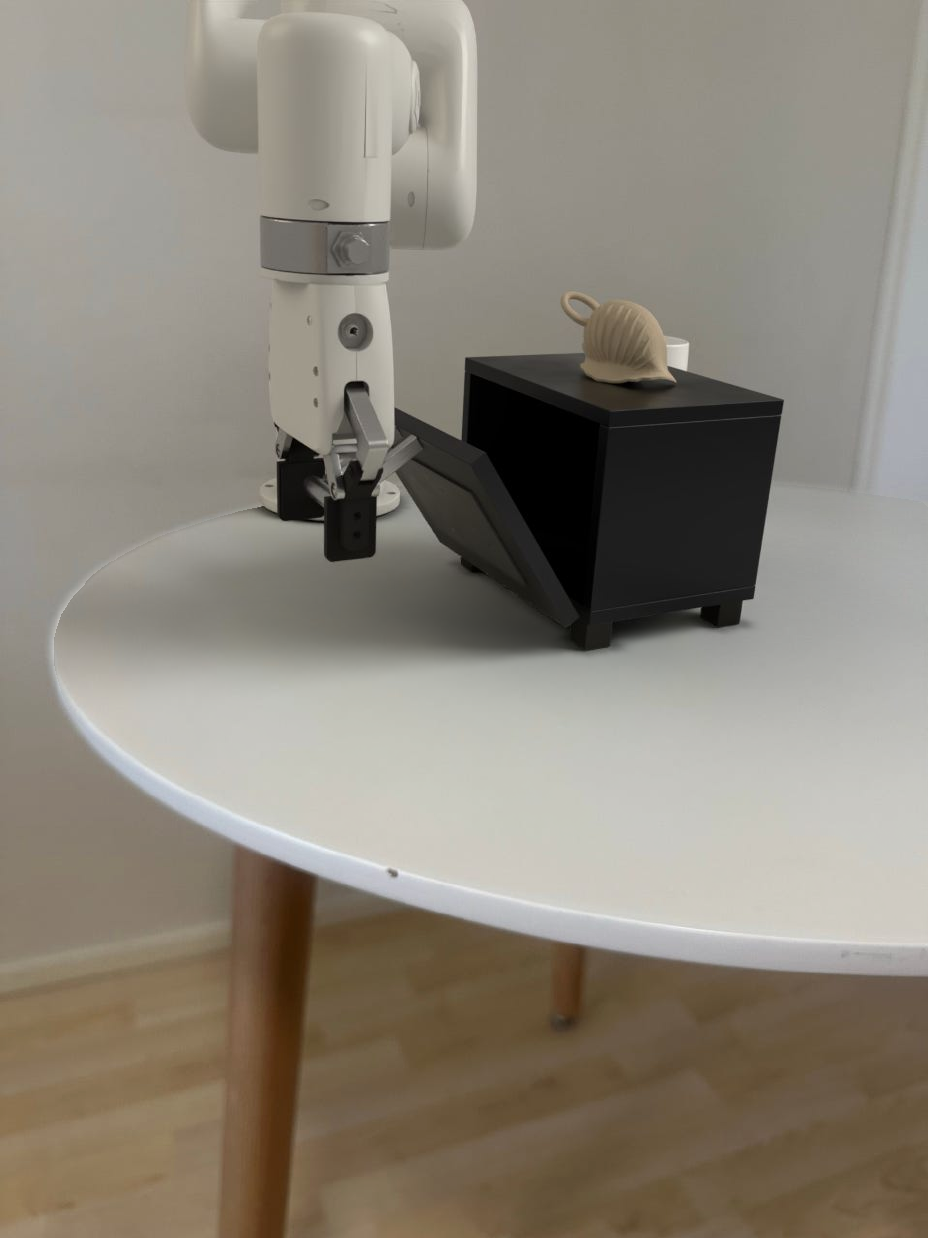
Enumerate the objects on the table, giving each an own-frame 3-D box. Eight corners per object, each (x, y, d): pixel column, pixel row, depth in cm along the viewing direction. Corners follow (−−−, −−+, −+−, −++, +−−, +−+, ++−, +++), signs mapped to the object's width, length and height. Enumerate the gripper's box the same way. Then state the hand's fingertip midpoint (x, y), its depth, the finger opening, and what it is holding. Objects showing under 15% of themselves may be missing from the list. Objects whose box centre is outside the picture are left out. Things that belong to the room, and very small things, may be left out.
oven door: (481, 700, 73) (371, 539, 65) (367, 600, 88) (267, 460, 80) (580, 617, 74) (484, 449, 67) (451, 533, 89) (361, 388, 82)
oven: (586, 654, 75) (610, 410, 69) (455, 562, 91) (464, 357, 85) (749, 625, 81) (784, 399, 75) (600, 544, 97) (619, 351, 91)
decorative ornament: (641, 390, 76) (650, 307, 74) (547, 370, 81) (553, 291, 79) (678, 384, 78) (687, 303, 76) (584, 365, 84) (591, 289, 82)
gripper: (449, 268, 62) (436, 574, 69) (331, 239, 76) (329, 496, 83) (317, 267, 59) (317, 590, 65) (219, 238, 73) (227, 505, 79)
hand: (324, 536), depth 74 cm, fingers open, 8 cm apart
